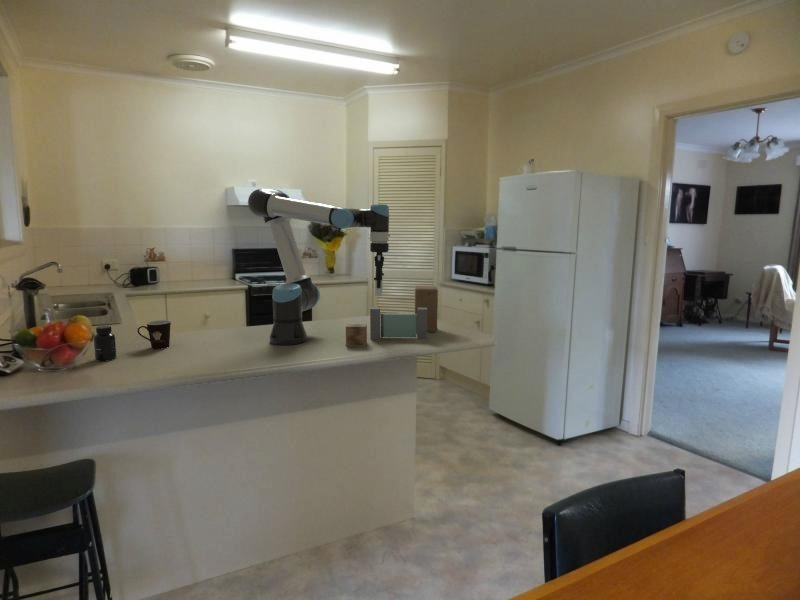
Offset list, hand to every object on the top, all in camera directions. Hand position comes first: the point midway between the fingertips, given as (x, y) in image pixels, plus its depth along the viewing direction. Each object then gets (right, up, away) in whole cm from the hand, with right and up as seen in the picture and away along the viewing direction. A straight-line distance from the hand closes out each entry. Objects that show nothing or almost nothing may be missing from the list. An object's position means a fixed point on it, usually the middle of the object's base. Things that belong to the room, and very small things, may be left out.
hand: (378, 293), depth 214 cm
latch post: (+18, -19, +5) cm, 27 cm away
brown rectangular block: (-9, -21, -5) cm, 23 cm away
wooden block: (+21, -17, +20) cm, 33 cm away
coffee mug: (-88, -22, -10) cm, 91 cm away
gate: (+8, -19, +5) cm, 21 cm away
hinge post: (-2, -19, +6) cm, 20 cm away
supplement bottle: (-98, -24, -27) cm, 105 cm away
